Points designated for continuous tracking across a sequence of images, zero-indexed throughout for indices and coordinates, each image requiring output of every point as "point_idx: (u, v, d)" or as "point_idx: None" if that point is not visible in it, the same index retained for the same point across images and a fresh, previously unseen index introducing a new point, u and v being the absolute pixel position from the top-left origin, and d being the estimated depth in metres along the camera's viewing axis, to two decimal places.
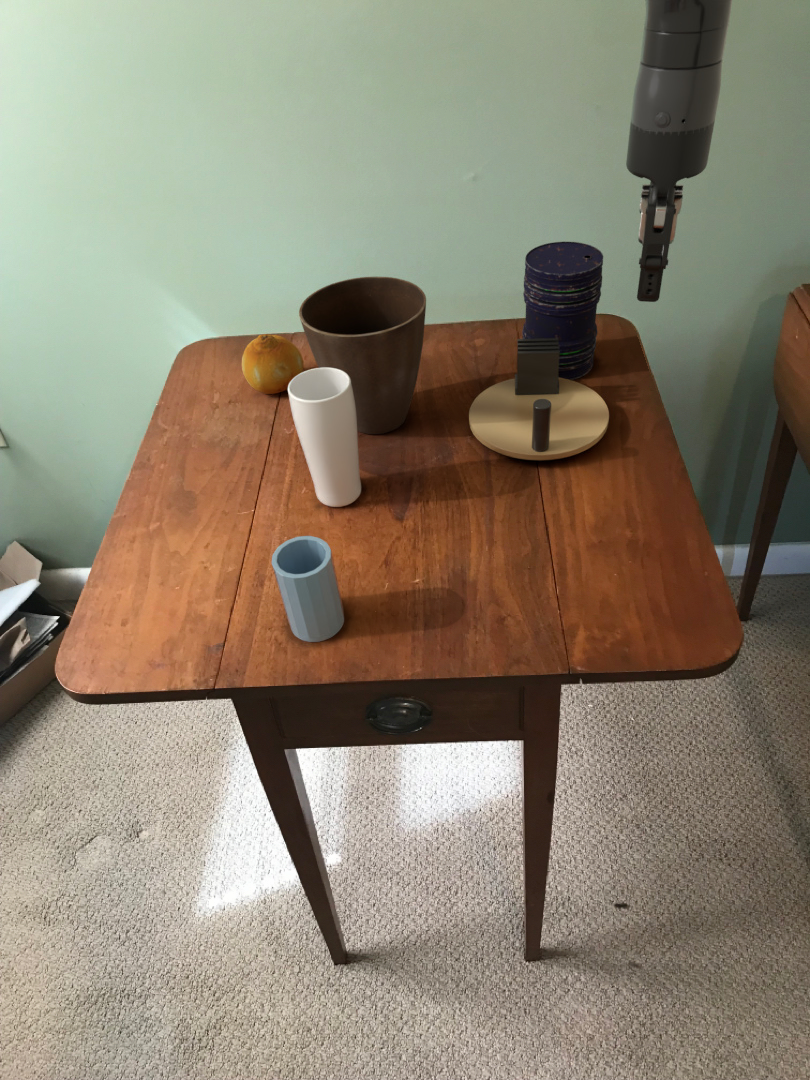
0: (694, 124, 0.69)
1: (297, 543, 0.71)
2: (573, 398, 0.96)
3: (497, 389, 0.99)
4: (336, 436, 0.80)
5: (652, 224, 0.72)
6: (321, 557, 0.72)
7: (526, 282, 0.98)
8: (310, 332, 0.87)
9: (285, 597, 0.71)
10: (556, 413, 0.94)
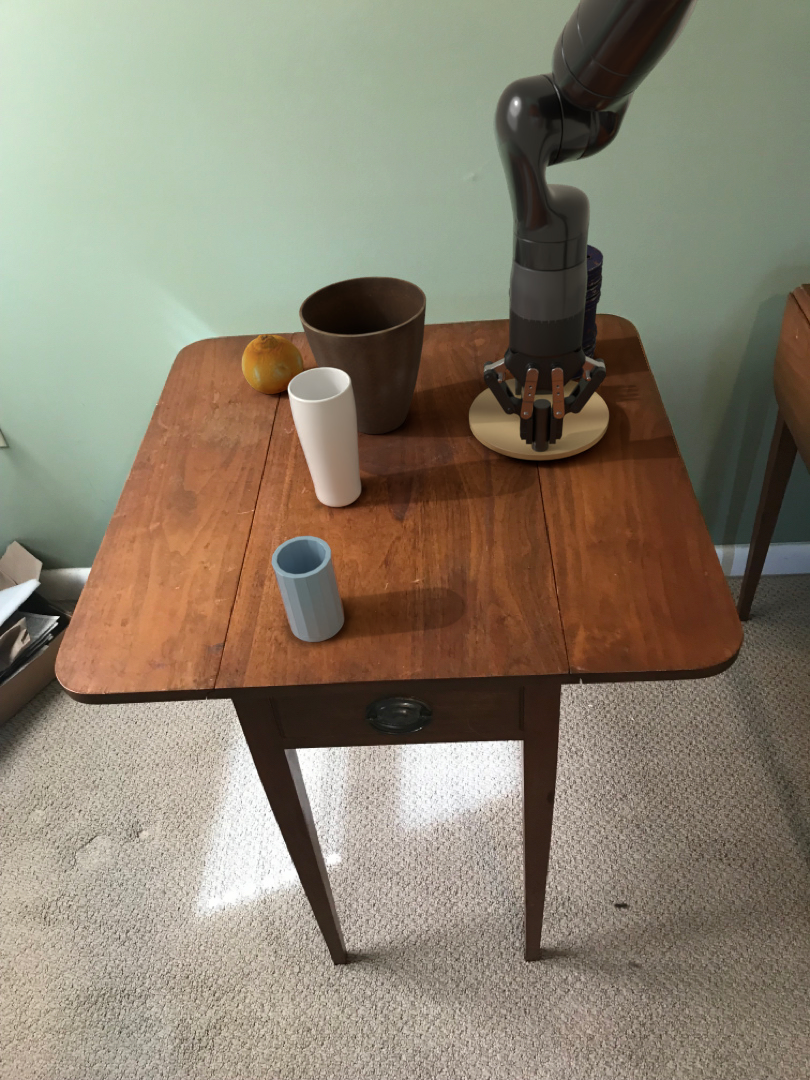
0: (514, 308, 0.76)
1: (297, 543, 0.71)
2: None
3: None
4: (336, 436, 0.80)
5: None
6: (321, 557, 0.72)
7: None
8: (310, 332, 0.87)
9: (285, 597, 0.71)
10: None
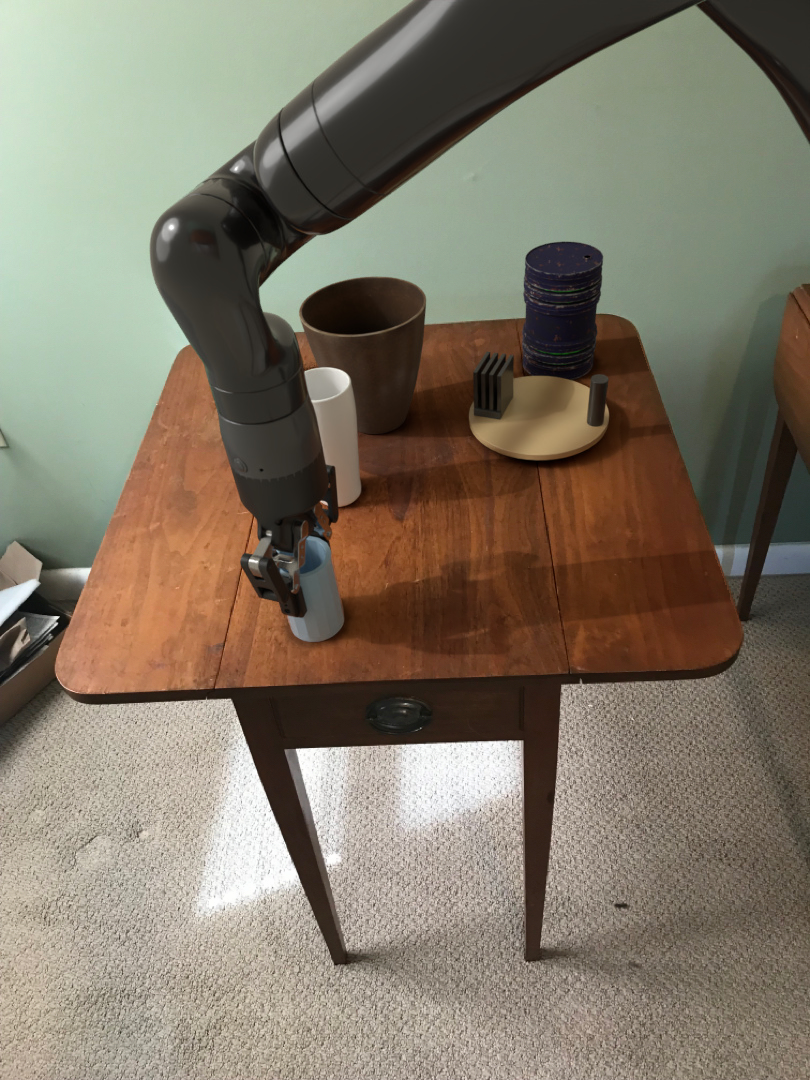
0: (276, 473, 0.58)
1: None
2: (525, 390, 0.98)
3: (483, 428, 0.93)
4: (336, 436, 0.80)
5: (251, 574, 0.63)
6: (321, 557, 0.72)
7: (526, 282, 0.98)
8: (310, 332, 0.87)
9: None
10: (545, 403, 0.96)
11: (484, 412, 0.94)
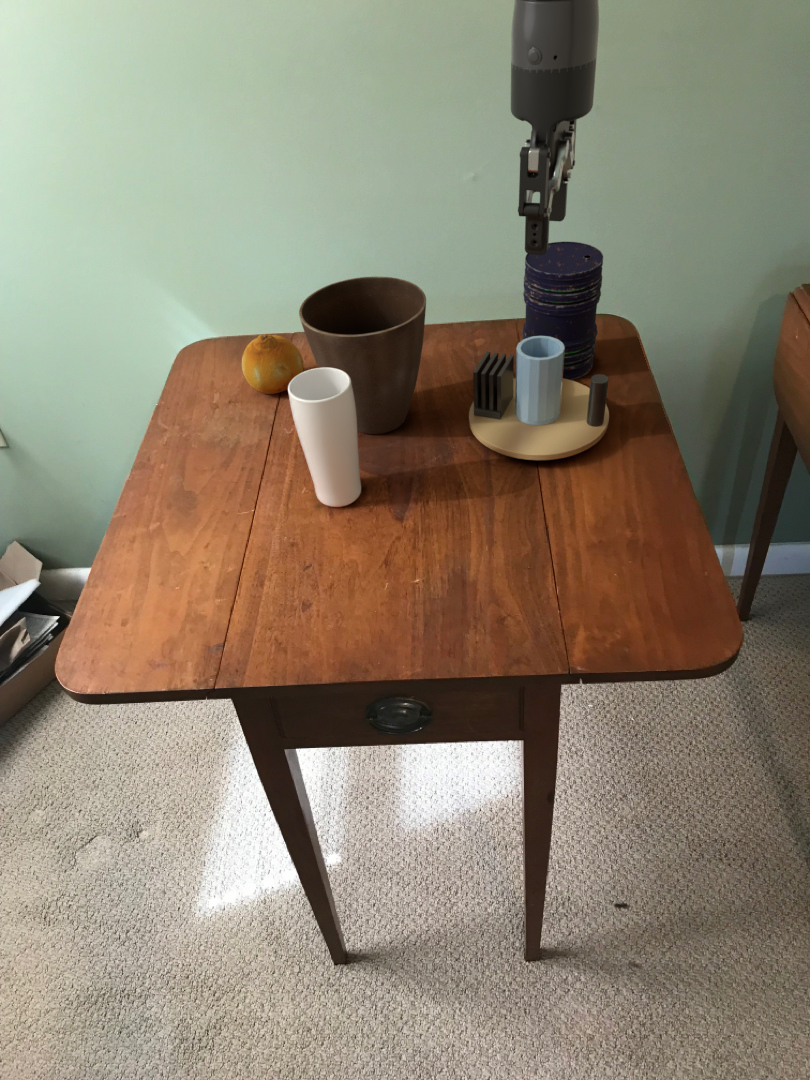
0: (567, 61, 0.66)
1: (532, 341, 0.90)
2: None
3: (483, 428, 0.93)
4: (336, 436, 0.80)
5: (526, 168, 0.69)
6: (549, 354, 0.91)
7: (526, 282, 0.98)
8: (310, 332, 0.87)
9: (525, 382, 0.89)
10: None
11: (484, 412, 0.94)
